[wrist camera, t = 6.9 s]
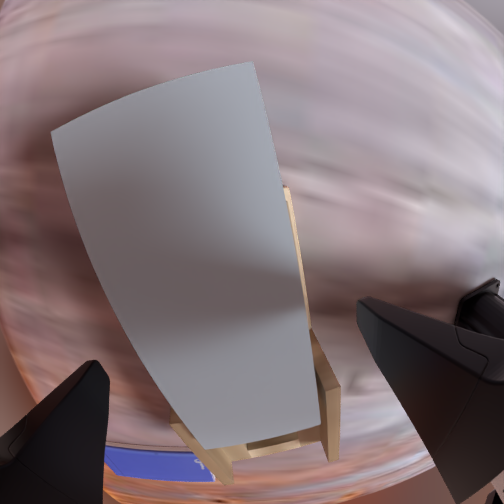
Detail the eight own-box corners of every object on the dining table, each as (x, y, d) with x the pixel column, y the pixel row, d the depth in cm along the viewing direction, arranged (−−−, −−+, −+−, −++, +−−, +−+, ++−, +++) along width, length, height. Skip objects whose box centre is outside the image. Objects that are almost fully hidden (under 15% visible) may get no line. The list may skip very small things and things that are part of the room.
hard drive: (205, 455, 21) (90, 445, 20) (215, 482, 24) (117, 476, 23) (204, 442, 23) (93, 435, 22) (214, 472, 26) (119, 467, 24)
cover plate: (243, 83, 9) (253, 61, 7) (306, 386, 15) (321, 424, 13) (88, 133, 9) (50, 132, 6) (204, 410, 15) (204, 449, 12)
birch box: (286, 185, 14) (327, 210, 9) (318, 407, 22) (338, 459, 16) (123, 228, 14) (79, 274, 9) (219, 430, 21) (224, 485, 16)
